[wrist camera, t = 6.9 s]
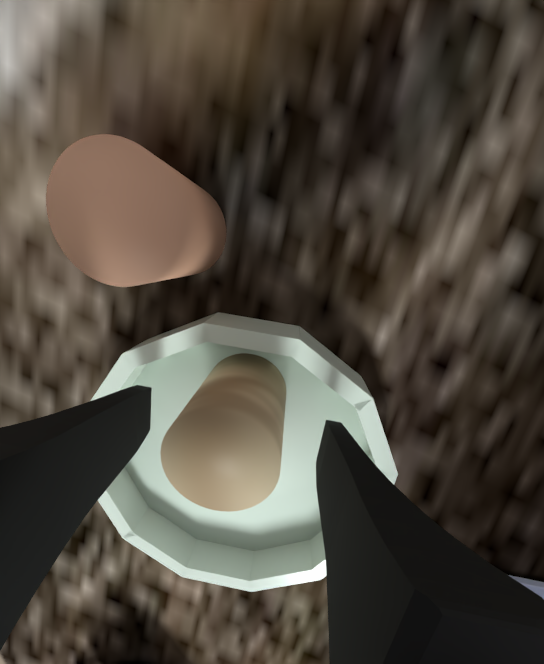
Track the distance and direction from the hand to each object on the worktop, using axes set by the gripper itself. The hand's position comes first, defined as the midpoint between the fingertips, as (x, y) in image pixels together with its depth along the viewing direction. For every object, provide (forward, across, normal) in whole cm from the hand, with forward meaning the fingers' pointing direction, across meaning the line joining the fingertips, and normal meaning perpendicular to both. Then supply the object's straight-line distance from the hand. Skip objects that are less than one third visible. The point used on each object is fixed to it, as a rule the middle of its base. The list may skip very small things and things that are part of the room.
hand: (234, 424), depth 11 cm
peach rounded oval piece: (+3, +4, -7) cm, 9 cm away
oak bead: (+3, 0, 0) cm, 3 cm away
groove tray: (+3, 0, +4) cm, 5 cm away
